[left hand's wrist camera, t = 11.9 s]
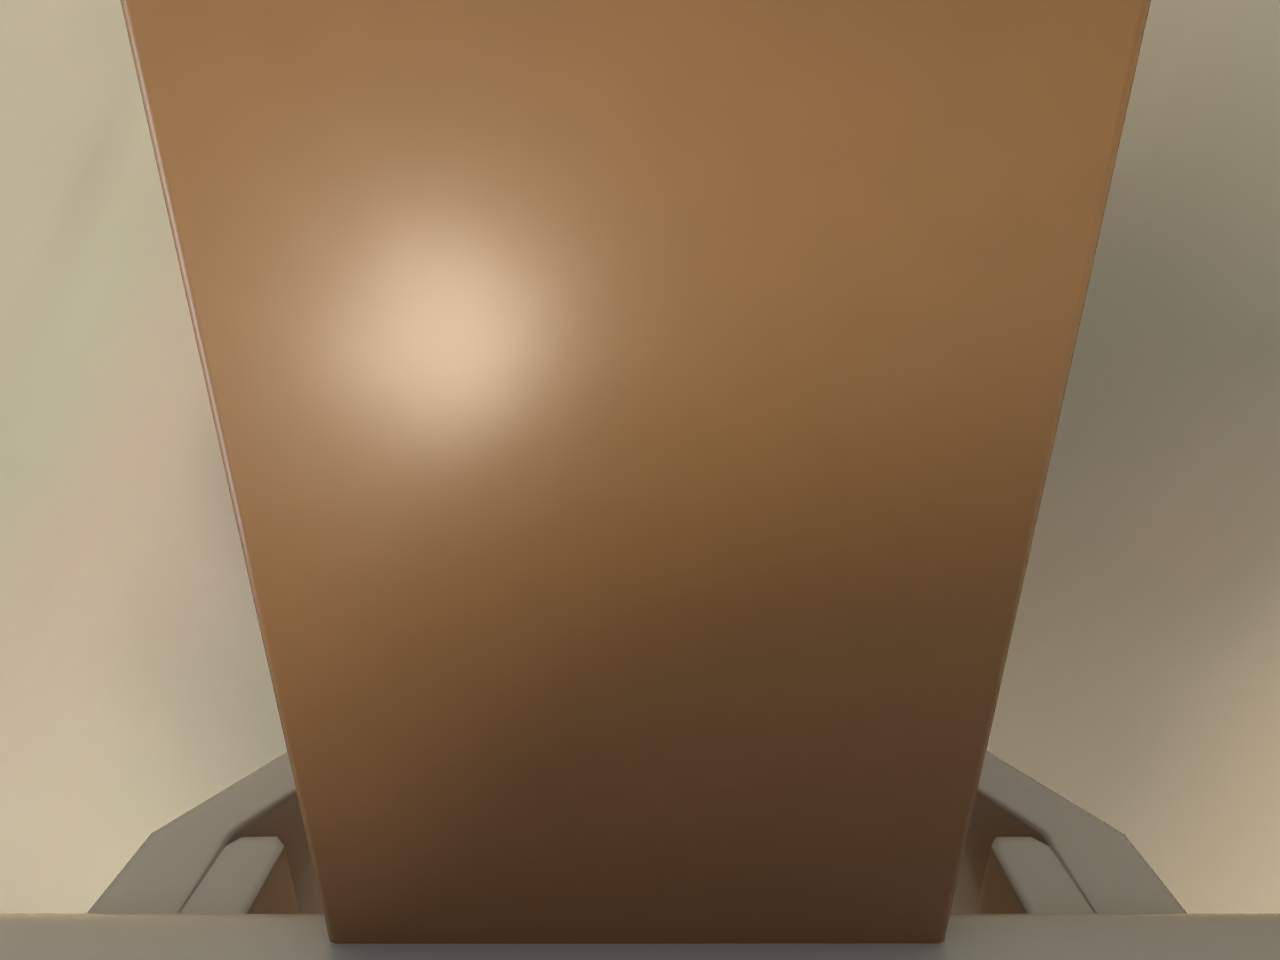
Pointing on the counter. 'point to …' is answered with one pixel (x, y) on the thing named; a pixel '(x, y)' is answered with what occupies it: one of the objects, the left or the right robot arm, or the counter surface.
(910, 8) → the bar
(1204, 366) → the counter surface
